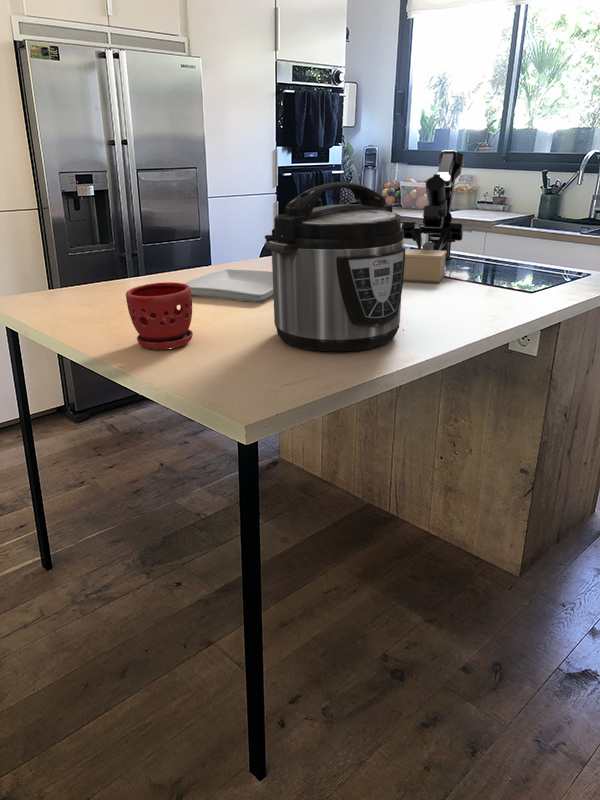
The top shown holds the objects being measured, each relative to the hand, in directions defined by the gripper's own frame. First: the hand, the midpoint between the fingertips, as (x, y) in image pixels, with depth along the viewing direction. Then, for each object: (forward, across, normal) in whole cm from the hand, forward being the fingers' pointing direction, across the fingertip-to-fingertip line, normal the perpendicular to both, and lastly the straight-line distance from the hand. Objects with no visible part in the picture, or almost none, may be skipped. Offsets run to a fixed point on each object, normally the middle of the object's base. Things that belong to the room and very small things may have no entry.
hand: (427, 252), depth 199 cm
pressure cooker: (+58, -6, -49) cm, 76 cm away
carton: (+11, 0, -2) cm, 11 cm away
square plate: (+32, -46, -22) cm, 61 cm away
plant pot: (+69, -40, -60) cm, 100 cm away
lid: (+4, 0, -4) cm, 6 cm away
